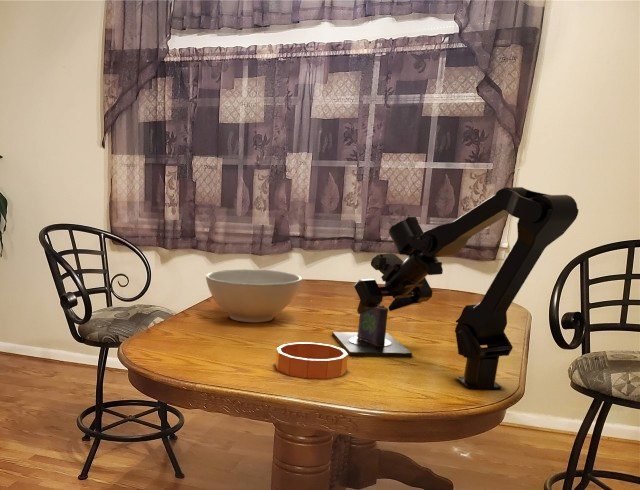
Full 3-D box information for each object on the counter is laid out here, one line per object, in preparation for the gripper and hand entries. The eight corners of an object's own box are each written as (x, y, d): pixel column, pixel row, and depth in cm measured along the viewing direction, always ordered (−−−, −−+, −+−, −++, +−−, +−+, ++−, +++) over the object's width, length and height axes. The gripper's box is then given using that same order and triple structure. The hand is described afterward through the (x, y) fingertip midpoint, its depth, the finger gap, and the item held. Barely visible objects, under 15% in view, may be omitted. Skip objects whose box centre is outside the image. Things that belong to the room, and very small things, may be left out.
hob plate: (411, 357, 158) (412, 352, 158) (349, 356, 159) (350, 351, 159) (387, 336, 177) (387, 332, 177) (332, 335, 178) (332, 331, 178)
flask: (354, 337, 172) (359, 294, 168) (364, 336, 173) (369, 294, 169) (377, 346, 163) (383, 301, 160) (388, 345, 164) (393, 301, 161)
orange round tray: (352, 379, 142) (354, 360, 141) (281, 378, 143) (282, 359, 142) (337, 360, 156) (338, 343, 155) (272, 358, 157) (273, 342, 156)
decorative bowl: (234, 304, 217) (236, 266, 213) (314, 316, 200) (317, 275, 197) (186, 319, 197) (187, 277, 193) (270, 333, 181) (273, 287, 177)
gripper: (429, 241, 159) (391, 281, 172) (363, 244, 153) (329, 286, 166) (451, 279, 154) (410, 318, 167) (384, 285, 148) (346, 324, 161)
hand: (374, 310), depth 165 cm, fingers open, 9 cm apart
